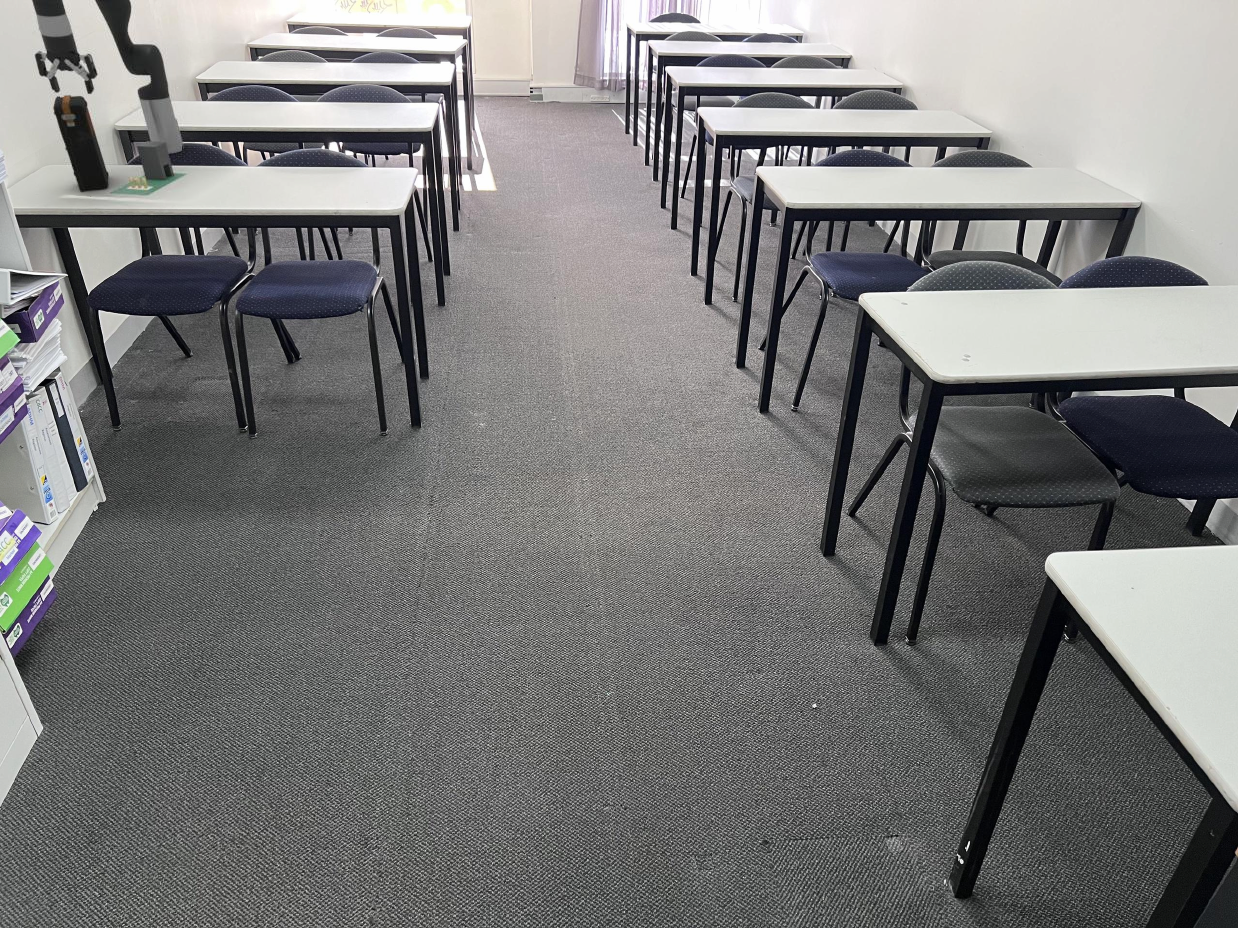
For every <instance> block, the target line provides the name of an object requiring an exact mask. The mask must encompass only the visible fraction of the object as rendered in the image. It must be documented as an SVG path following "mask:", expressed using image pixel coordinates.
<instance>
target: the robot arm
mask: <svg viewBox="0 0 1238 928" xmlns="http://www.w3.org/2000/svg"><path fill="white" fill-rule="evenodd" d="M31 1H32V4H33V5H32V6H33V8H34V12H35V15H36V19H37V20H36V21H37V25H38V30H39V31H40V35H41V38H42V41H43V45H44V48H45V51H46V52H42V51H41V50H39V51H37V52H36V53H35V54H34V58H35V62H36V67H37V70H38V74H39V76H40V77H44V78H47V79H48V80H49V84H50V86H51V87H50V88H51V90H52V91H54V93H59V92H60V91H61V89H60V83H59V81H58V78H57V76H55V75H56V74H57V72H58V70H59V71H60V72H65V71H67V72H75V73H76V74H77V75H79V76H80V77H81V78H82V79H84V84H85V88H86V91H87V92H86V93H87V94H88V95H92V94H93V92H94V90H95V87H94V84H93V80H94V79H96V78H97V76H98V72H97V68H96V65H95V62H94V59H93V56H92V55H91V54H90V53H86V54H80V53H79V52H78V47H77V45H76V40H75V38H74V33H73V30H72V26H71V22H70V20H69V18H68V15H67V12H66V8H65V4H64V2H63V1H64V0H31ZM94 1H95V3H96V5H97V7H98V9H99V10H100V12H101V14H102V16H103V18H104V20H105V22H106V25H107V27H108V28H109V30H110V33H111V36H112V38H113V40H114V43H115V46H116V47H117V50H118V54H119V55H120V58H121V61H122V63H123V65H124V67H125V69H126V70H127V71H128V73H130V75H133V76H150V77H149V78H150V82H149V83H148V84H146V85H143V86H141V87H138V89H137V96H138V99H139V102H140V106H141V110H142V113H143V117H144V121H145V124H146V128H147V132H148V135H149V139H150V141H151V142H166V146H167V150H168V154H175V153H179V152H182V151H183V150H182V144H183V145H184V142H183V138H182V135H181V131H180V127H179V122H178V120H177V118H176V116H175V113H174V112H175V111H174V108H173V104H172V99H171V97H170V95H171V94H170V93H169V83H168V78H167V73H166V70H165V65H164V64H165V63H164V58H163V55H162V52H161V51H160V49H159V48H158V46H156V44H150V43H149V44H147V43H145V44H144V43H140V44H138V43H136V44H135V43H134V42H132V40H131V37H130V34H129V24H130V20H131V15H132V3H131V0H94ZM45 61H49V62H50V63H51V64H52V65H51V66H50V69H49V70H47V65H46V62H45ZM81 61H82V62H83V64H86V67H84V66H83V64H82V63H80V62H81ZM86 68H87V70H88V71H87V70H86Z"/></svg>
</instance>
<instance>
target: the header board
mask: <svg viewBox="0 0 1238 928" xmlns="http://www.w3.org/2000/svg"><path fill="white" fill-rule="evenodd" d="M173 173H174V176H166V178H167V179H166V180H147V179H146V177H145V174H144V175H142V176H140V177H135V179H134V177H133V176H130V177H128V179H129V182H127V183H126V184H124V185H122V186H121V187H118V188H116V189H114V190H113V191H110V192H109V194H118V195H137V196H138V195H139V196H149V195H151V194H152V193H154V192H156V191H158V190H160V189H162V188H164V187H166V186H168V185H170V184H172V183H173V182H175V181H176V180H179V179H181V178H182V177H184V176H186V175H187V173H179V172H173Z"/></svg>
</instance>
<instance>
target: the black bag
mask: <svg viewBox="0 0 1238 928" xmlns="http://www.w3.org/2000/svg"><path fill="white" fill-rule="evenodd" d="M53 103H54V104H53V107H52V109H53V115H55V118H56V121H57V125H58V128H59V131H60V134H61V137H62V140H63V142H64V145H65V148H64V149H65V151H66V153H67V155H68V158H69V161H70V162H69V163H70V164H71V168H72V171H73V176H74V177H75V179H76V183H77V187H78V189H79V191H80V192H81V193H84V192H92V191H94V192H95V191H103V190H107V189H108V188H109V177H110V176H109V175H110V174H109V172H108V171H107V167H106V165H105V162H104V157H103V154H102V151H101V148H100V145H99V141H98V137H97V135H96V131H95V127H94V125H93V121H92V118H91V115H90V111H89V109H88V102H87V100H86V99H85V98H84V96H82V95H75V96H73V95H71V94H66V95H63V96H62V97H61V96H60V95H59V96H56V97H55V99H54V102H53Z"/></svg>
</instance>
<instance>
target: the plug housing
mask: <svg viewBox="0 0 1238 928" xmlns="http://www.w3.org/2000/svg"><path fill="white" fill-rule="evenodd" d="M136 148H137V151H138V155H139V159H140V163H141V166H142V170H143V173H144V175H145V177H146V179H147V180H166V179H167V178H166V176H174V173H175V172H174V169H173V165H172V162H171V158H170V155H169V154H168V150H167V146H166V142H151V140H150V141H147V140H146V141H145V142H143V143H140V144H138V145H136Z"/></svg>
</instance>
